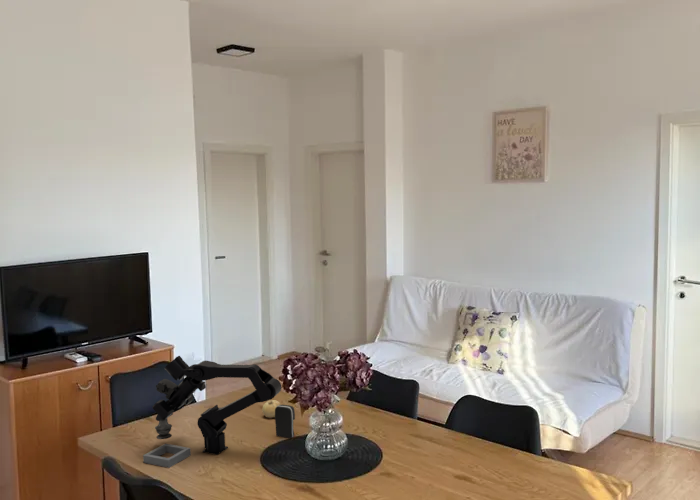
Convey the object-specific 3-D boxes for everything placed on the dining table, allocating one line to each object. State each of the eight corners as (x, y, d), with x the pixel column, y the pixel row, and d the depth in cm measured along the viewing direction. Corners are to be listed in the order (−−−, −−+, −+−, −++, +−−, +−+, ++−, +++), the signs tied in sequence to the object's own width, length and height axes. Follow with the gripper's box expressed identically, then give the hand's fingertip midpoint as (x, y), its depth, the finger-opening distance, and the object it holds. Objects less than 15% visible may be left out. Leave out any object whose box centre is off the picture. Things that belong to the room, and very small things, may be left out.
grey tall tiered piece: (162, 440, 227) (160, 407, 226) (152, 437, 231) (150, 404, 230) (176, 435, 232) (174, 402, 231) (165, 432, 236) (163, 400, 235)
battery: (296, 435, 239) (295, 404, 238) (292, 438, 236) (290, 408, 235) (280, 432, 242) (279, 402, 241) (275, 436, 239) (273, 406, 238)
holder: (190, 455, 224) (190, 448, 223) (169, 467, 214) (168, 460, 214) (165, 450, 228) (165, 443, 228) (143, 462, 219) (143, 455, 218)
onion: (260, 414, 263) (260, 397, 262) (280, 411, 265) (279, 394, 265) (264, 420, 255) (263, 403, 255) (284, 418, 258) (283, 400, 257)
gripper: (183, 365, 237) (158, 393, 241) (155, 380, 219) (129, 410, 223) (204, 387, 236) (178, 415, 240) (178, 404, 218) (151, 434, 222)
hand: (159, 418), depth 231 cm, fingers closed on grey tall tiered piece, 3 cm apart
